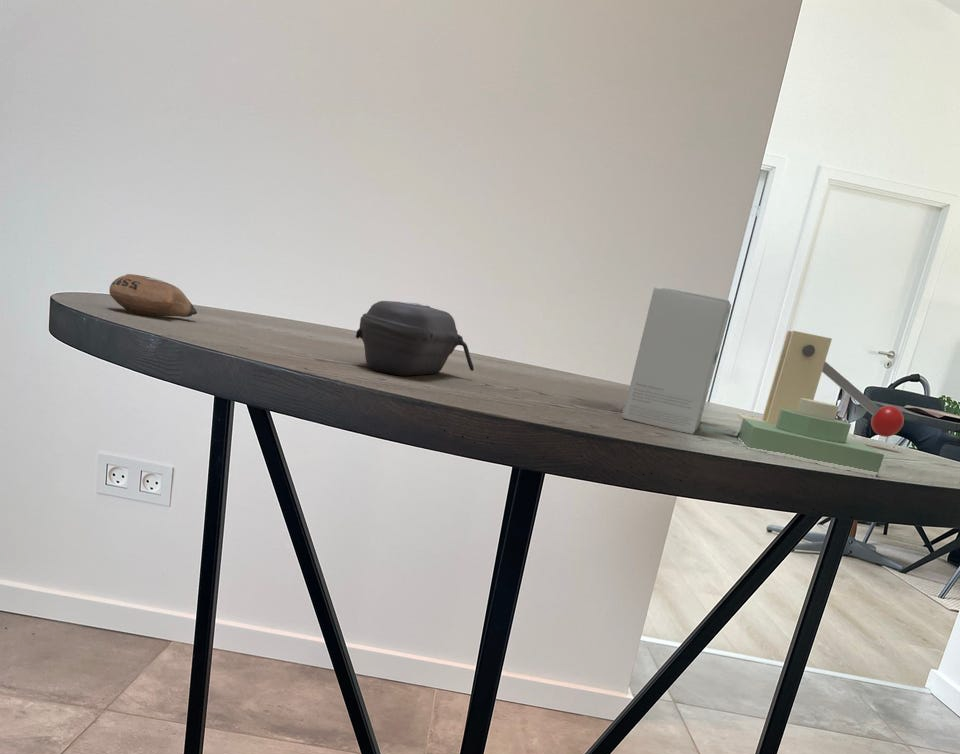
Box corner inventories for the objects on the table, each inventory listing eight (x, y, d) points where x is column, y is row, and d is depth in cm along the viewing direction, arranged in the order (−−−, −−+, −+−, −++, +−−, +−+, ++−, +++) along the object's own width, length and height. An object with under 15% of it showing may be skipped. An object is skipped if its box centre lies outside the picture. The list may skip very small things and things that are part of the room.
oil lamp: (193, 333, 100) (193, 328, 108) (202, 295, 99) (201, 292, 106) (103, 305, 97) (109, 302, 104) (112, 265, 96) (117, 264, 103)
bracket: (815, 440, 119) (845, 342, 115) (827, 447, 112) (859, 343, 108) (735, 423, 120) (762, 326, 116) (741, 429, 113) (771, 325, 109)
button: (829, 422, 94) (835, 404, 93) (836, 426, 90) (842, 407, 90) (792, 414, 94) (798, 396, 94) (798, 417, 91) (804, 399, 90)
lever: (883, 441, 116) (906, 417, 115) (891, 444, 113) (914, 420, 111) (782, 354, 115) (804, 329, 114) (786, 355, 111) (809, 329, 110)
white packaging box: (694, 435, 92) (730, 299, 88) (620, 419, 94) (652, 284, 90) (700, 430, 99) (733, 303, 95) (630, 415, 101) (660, 289, 97)
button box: (854, 463, 98) (866, 424, 96) (876, 477, 88) (891, 434, 87) (737, 438, 99) (748, 399, 97) (747, 450, 89) (759, 406, 88)
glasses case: (379, 349, 107) (414, 285, 104) (457, 402, 107) (494, 340, 104) (323, 348, 90) (364, 272, 87) (417, 411, 90) (460, 337, 87)
